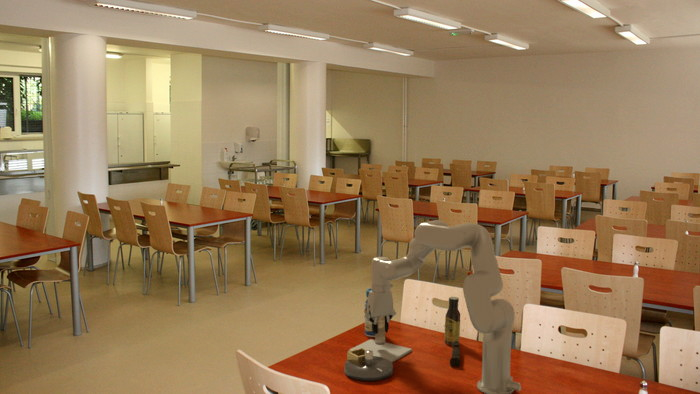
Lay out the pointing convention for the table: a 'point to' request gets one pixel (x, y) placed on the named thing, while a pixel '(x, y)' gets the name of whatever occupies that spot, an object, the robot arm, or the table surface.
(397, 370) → the table surface
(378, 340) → the beige rounded cylinder
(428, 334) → the table surface
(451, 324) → the sauce bottle
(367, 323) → the beverage bottle
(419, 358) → the table surface
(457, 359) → the hand tool
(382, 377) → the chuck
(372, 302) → the robot arm
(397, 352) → the mat
